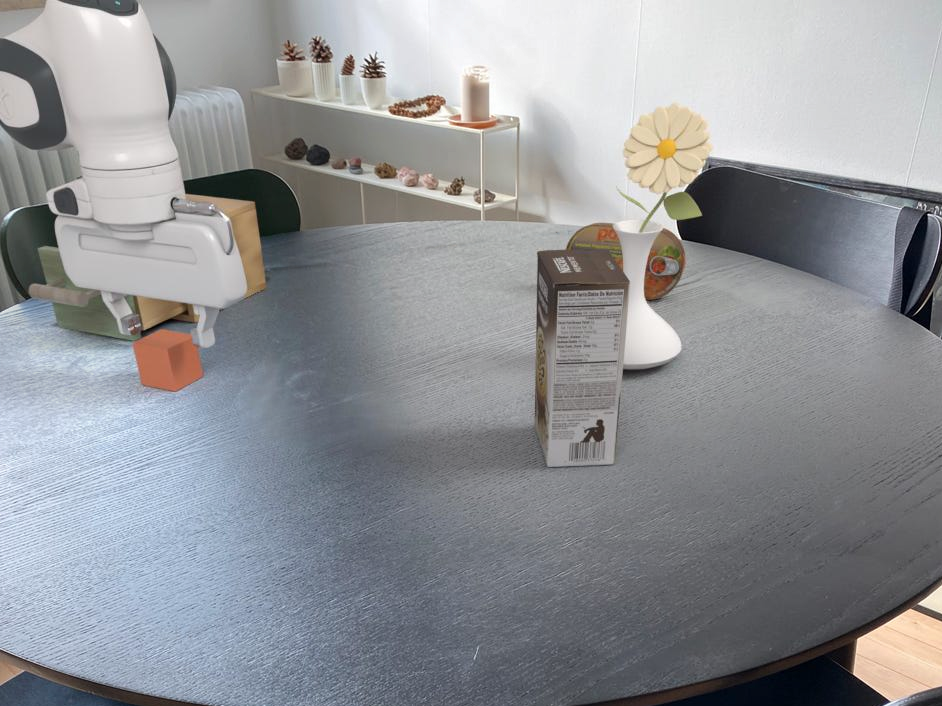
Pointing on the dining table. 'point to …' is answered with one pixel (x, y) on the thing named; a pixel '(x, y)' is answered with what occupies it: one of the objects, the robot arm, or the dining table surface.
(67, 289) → the drawer
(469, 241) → the dining table surface
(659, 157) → the flower in vase
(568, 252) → the coffee box
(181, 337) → the block
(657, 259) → the tin
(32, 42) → the robot arm
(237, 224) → the cabinet
